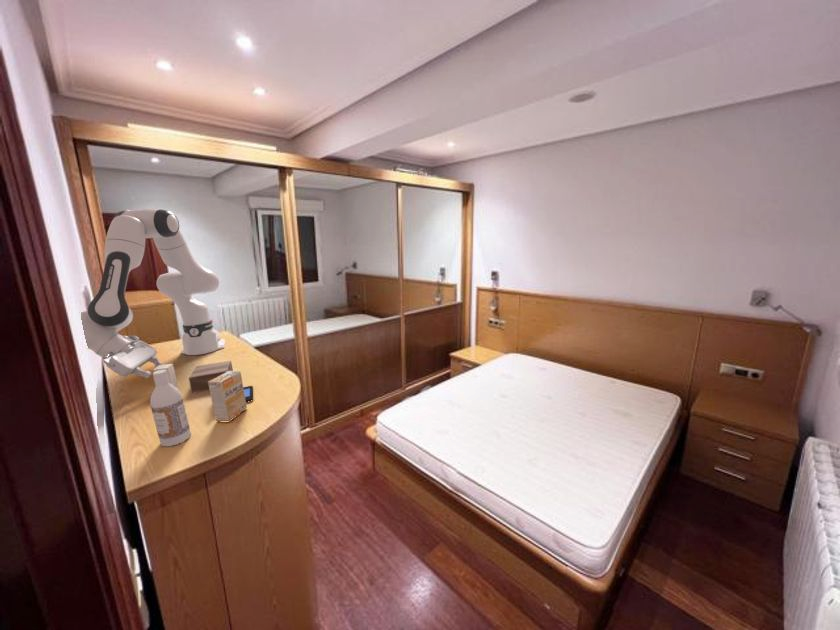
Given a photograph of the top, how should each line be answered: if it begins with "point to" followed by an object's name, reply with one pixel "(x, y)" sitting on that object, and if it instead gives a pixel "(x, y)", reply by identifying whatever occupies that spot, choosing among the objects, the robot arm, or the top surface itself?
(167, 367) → the cream block
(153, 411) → the bath foam
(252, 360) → the top surface
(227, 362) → the walnut block
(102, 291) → the robot arm
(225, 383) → the supplement box
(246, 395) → the handheld game console
